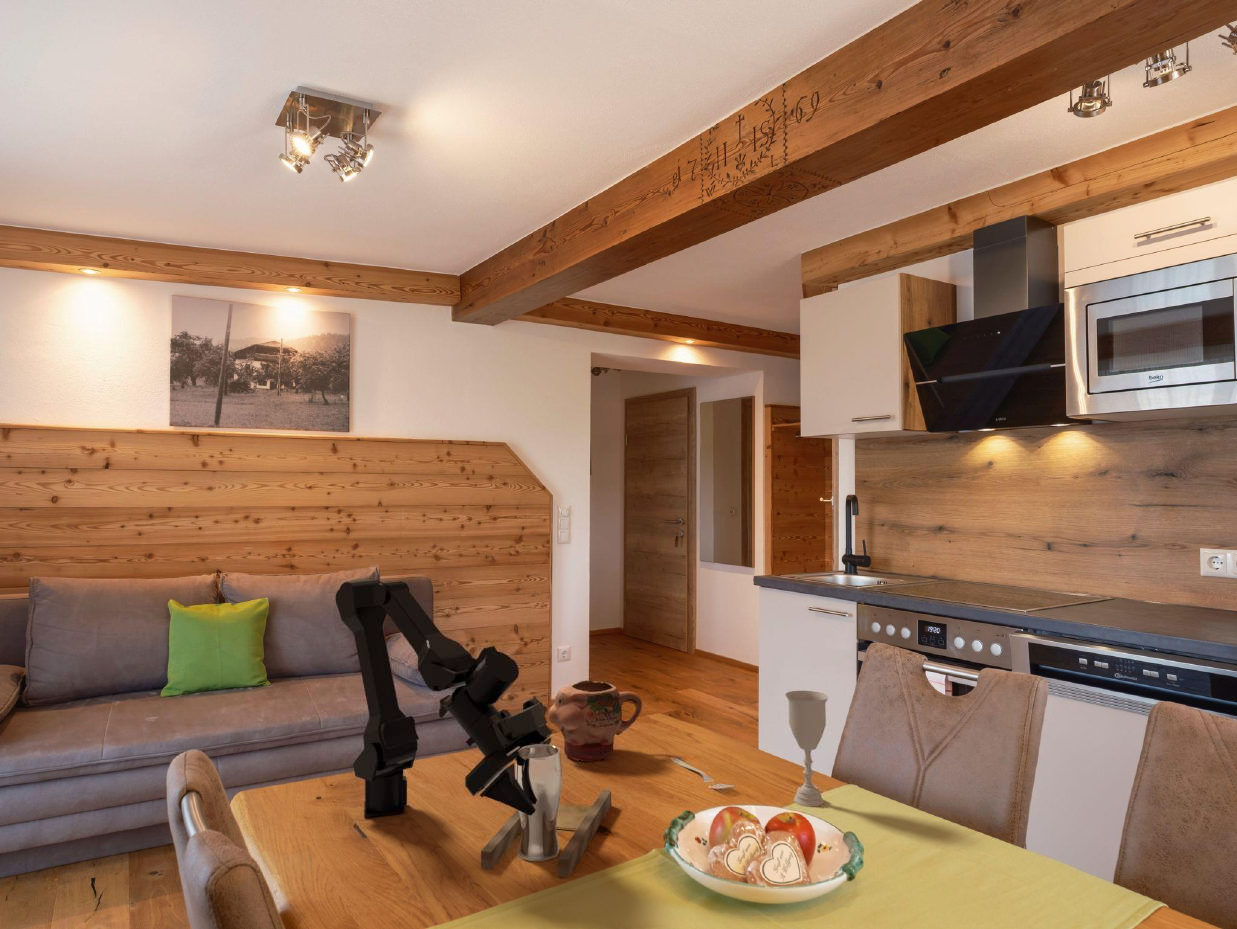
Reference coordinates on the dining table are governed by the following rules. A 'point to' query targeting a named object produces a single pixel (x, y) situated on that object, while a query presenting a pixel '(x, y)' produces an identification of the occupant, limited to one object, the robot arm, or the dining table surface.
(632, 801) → the dining table surface
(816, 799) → the chalice
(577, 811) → the tan square coaster
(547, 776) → the beer glass
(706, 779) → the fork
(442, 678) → the robot arm
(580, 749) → the sculpted ceramic mug
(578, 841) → the channel
